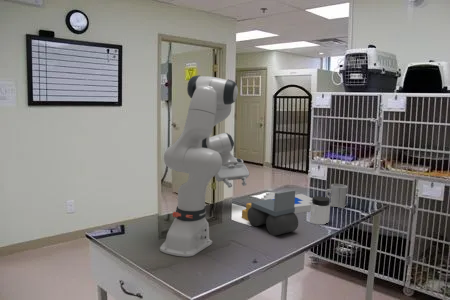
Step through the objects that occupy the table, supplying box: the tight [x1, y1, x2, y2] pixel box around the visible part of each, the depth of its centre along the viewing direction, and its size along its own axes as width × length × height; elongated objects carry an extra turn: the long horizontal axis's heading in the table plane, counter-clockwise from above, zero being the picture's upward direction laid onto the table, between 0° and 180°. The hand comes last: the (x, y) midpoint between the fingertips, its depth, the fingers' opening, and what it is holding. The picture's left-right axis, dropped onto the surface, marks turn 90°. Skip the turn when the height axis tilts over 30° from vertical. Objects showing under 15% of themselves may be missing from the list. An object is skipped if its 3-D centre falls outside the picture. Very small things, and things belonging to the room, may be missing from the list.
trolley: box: [247, 189, 299, 237], centre depth 162 cm, size 22×12×19 cm, turn 36°
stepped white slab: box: [260, 191, 313, 214], centre depth 200 cm, size 28×4×28 cm
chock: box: [241, 202, 251, 222], centre depth 174 cm, size 7×6×8 cm
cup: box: [325, 183, 348, 208], centre depth 201 cm, size 10×9×12 cm
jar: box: [309, 195, 331, 225], centre depth 173 cm, size 9×8×12 cm
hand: (237, 186), depth 182 cm, fingers open, 8 cm apart
